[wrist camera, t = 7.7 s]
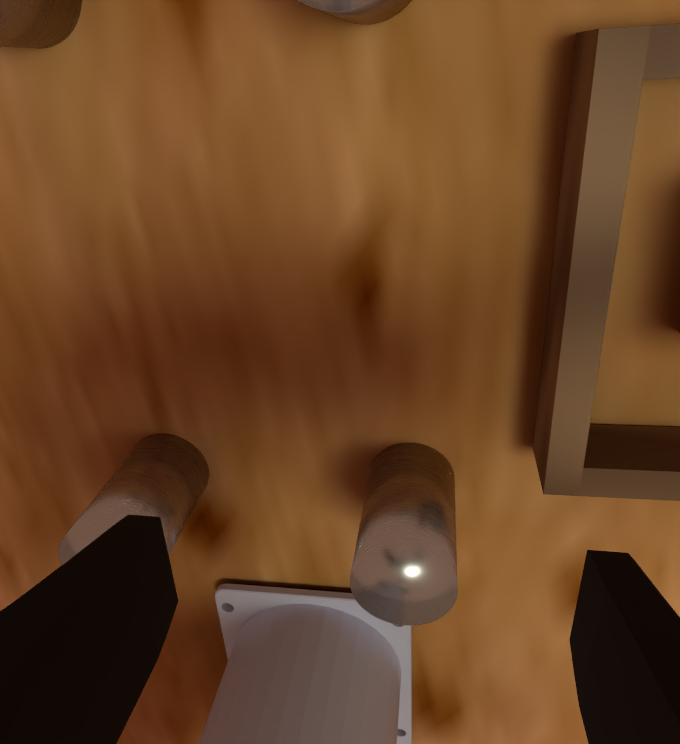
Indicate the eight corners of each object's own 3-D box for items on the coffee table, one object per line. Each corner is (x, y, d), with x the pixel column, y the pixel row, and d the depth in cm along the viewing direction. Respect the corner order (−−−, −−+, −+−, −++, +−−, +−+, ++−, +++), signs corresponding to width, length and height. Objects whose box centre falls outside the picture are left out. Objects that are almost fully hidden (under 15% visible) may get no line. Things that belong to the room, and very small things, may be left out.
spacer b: (453, 514, 22) (455, 629, 17) (370, 509, 22) (352, 620, 18) (455, 445, 20) (459, 550, 16) (367, 441, 21) (347, 543, 17)
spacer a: (214, 501, 23) (161, 604, 19) (141, 497, 24) (73, 597, 19) (202, 435, 22) (141, 529, 18) (124, 432, 22) (46, 524, 18)
